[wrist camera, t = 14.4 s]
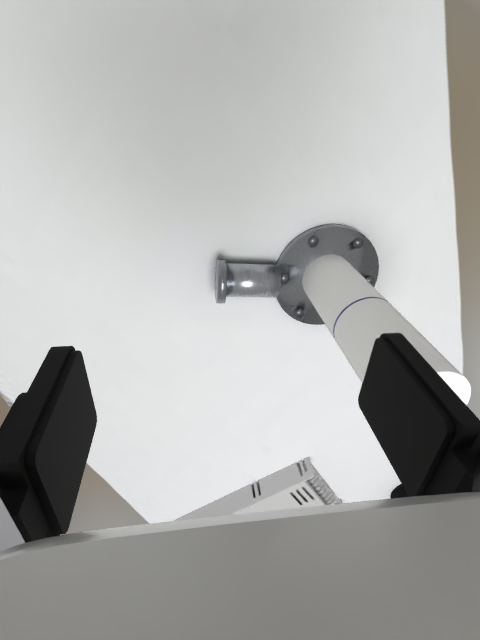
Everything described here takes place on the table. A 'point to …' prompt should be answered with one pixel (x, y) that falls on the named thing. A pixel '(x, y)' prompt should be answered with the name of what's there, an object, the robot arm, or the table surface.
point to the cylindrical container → (366, 318)
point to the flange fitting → (297, 269)
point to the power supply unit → (273, 494)
